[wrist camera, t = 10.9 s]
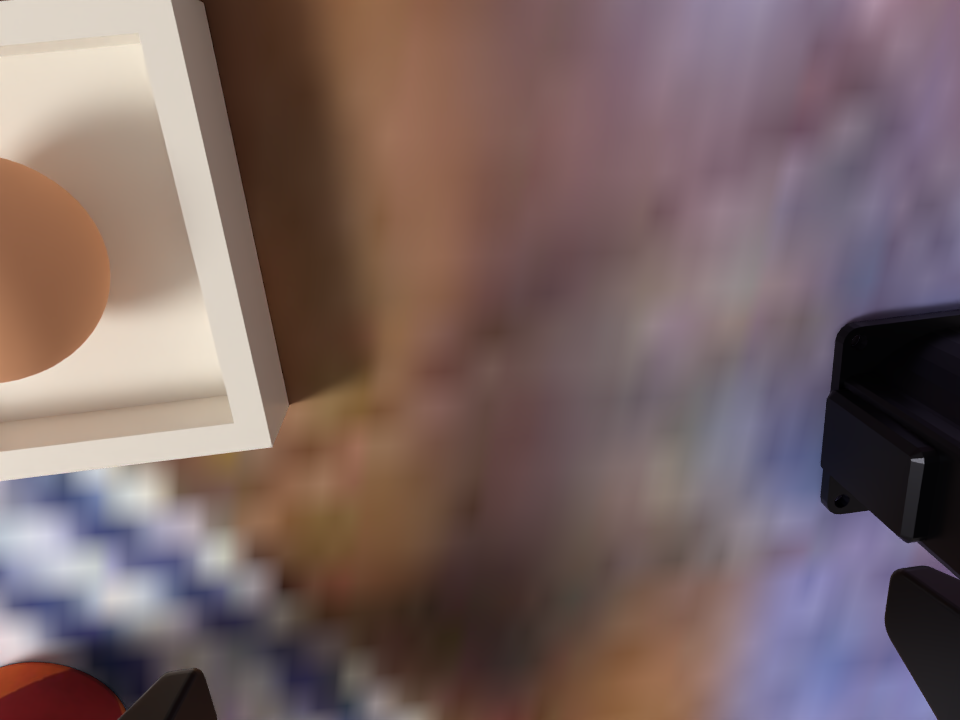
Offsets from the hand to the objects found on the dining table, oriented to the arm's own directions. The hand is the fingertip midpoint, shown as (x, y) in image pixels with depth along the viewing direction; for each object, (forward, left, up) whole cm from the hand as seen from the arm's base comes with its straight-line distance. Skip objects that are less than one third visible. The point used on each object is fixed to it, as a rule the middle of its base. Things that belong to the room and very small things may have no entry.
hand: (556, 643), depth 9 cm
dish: (+11, -4, -12) cm, 17 cm away
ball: (+11, -4, -11) cm, 16 cm away
